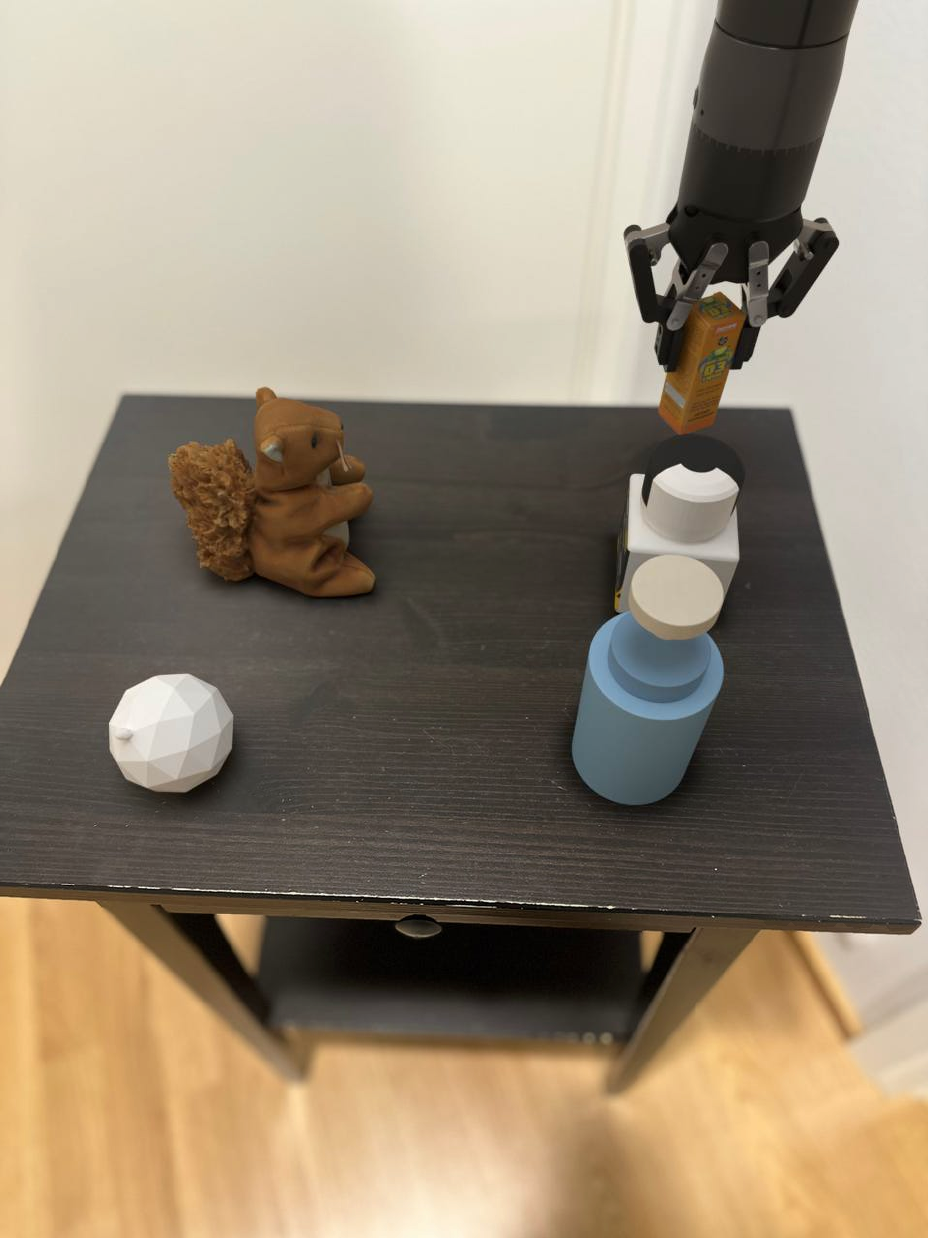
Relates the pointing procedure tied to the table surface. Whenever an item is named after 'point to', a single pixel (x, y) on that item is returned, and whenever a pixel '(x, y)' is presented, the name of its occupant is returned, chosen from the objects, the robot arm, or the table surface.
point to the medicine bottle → (682, 510)
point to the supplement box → (702, 364)
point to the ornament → (171, 733)
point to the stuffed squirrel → (278, 501)
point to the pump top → (675, 597)
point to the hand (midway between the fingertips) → (700, 363)
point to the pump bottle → (642, 710)
